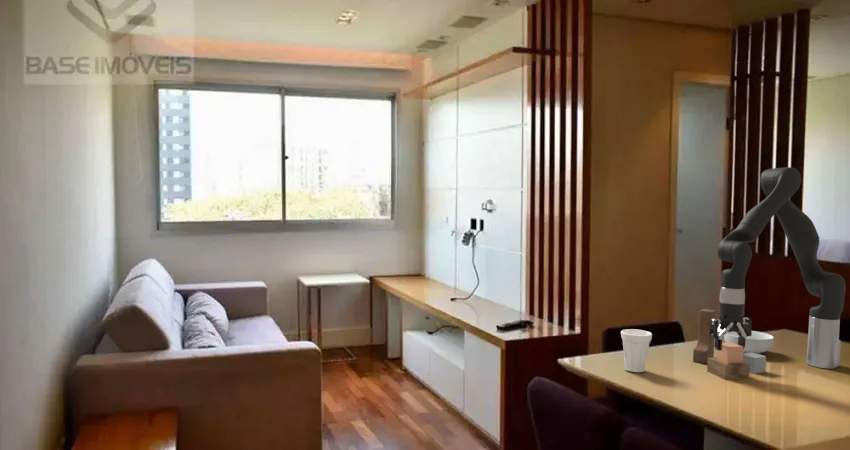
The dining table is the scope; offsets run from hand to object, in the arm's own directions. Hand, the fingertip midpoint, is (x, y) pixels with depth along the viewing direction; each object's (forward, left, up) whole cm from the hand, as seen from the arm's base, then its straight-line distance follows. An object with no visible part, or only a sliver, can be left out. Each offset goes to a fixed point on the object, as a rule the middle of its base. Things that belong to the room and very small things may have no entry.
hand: (729, 349), depth 215 cm
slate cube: (-12, -3, -9) cm, 15 cm away
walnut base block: (0, 0, -9) cm, 9 cm away
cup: (+29, -9, -9) cm, 32 cm away
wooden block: (-3, -17, -9) cm, 19 cm away
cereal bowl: (-28, -25, -9) cm, 38 cm away
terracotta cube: (0, 0, -4) cm, 4 cm away
